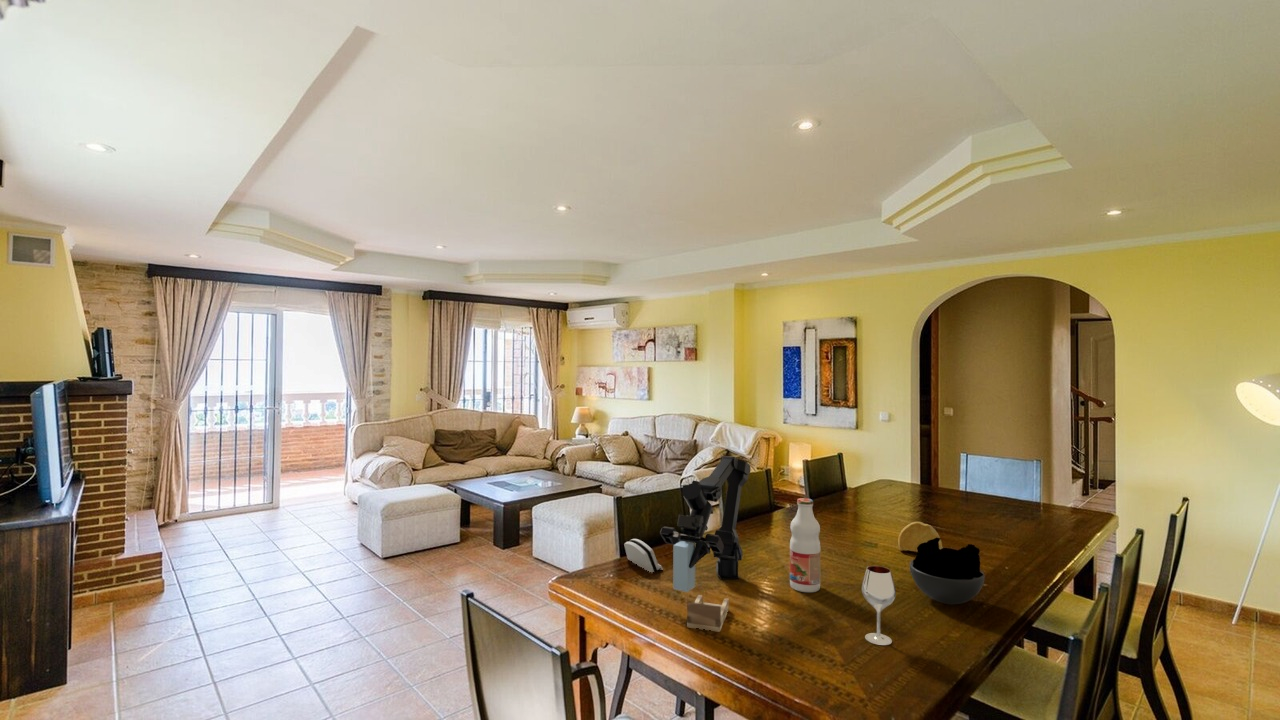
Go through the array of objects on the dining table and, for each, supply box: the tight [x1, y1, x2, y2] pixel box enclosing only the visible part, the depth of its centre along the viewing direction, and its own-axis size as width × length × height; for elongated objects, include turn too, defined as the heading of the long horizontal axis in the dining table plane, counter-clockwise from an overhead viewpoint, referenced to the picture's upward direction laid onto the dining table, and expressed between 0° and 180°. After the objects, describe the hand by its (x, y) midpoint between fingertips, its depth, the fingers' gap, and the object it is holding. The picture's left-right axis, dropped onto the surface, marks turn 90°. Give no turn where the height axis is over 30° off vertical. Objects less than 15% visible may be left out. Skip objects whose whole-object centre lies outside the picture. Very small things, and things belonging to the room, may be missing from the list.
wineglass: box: [861, 565, 897, 646], centre depth 149 cm, size 8×8×18 cm
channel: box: [686, 594, 730, 633], centre depth 161 cm, size 15×9×6 cm, turn 162°
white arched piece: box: [623, 538, 664, 573], centre depth 204 cm, size 17×5×10 cm, turn 30°
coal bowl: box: [909, 537, 986, 605], centre depth 173 cm, size 20×20×19 cm
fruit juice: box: [789, 497, 821, 593], centre depth 184 cm, size 9×9×28 cm
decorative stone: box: [897, 521, 944, 554], centre depth 221 cm, size 13×15×15 cm
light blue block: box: [672, 541, 696, 593], centre depth 165 cm, size 5×4×12 cm
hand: (682, 566), depth 164 cm, fingers closed on light blue block, 4 cm apart
